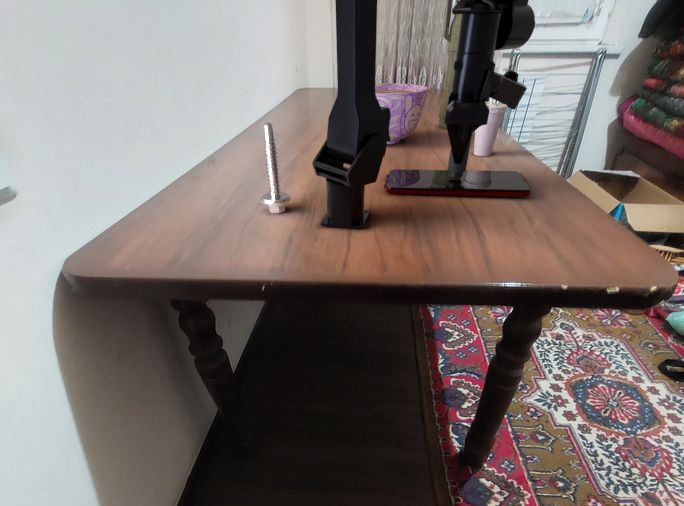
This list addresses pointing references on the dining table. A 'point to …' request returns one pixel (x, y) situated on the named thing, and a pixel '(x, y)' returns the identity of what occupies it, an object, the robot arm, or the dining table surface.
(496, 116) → the smoothie
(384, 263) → the dining table surface
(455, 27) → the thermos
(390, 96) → the bowl of food
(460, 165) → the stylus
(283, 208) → the screw
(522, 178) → the smartphone
